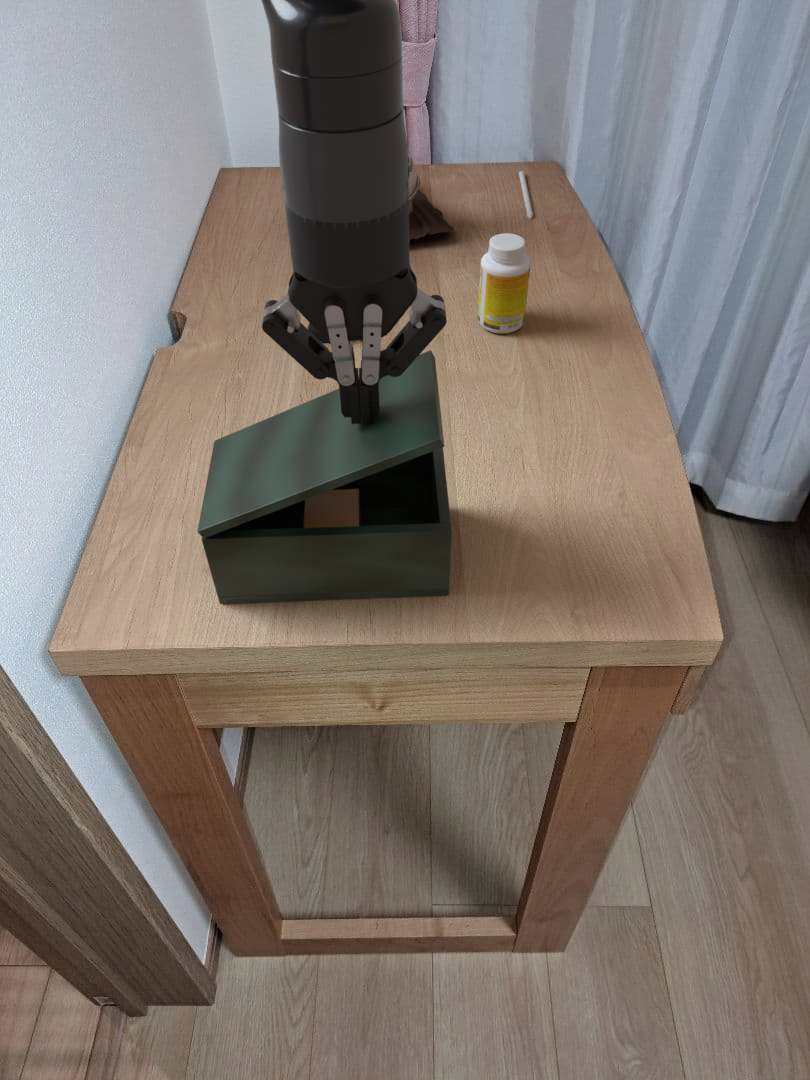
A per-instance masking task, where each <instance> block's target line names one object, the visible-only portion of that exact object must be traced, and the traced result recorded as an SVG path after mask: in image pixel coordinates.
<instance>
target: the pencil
mask: <svg viewBox="0 0 810 1080" xmlns="http://www.w3.org/2000/svg"><path fill="white" fill-rule="evenodd" d="M518 178H519V181H520V186H521V192H522V196H523V201H524V206H525V211H526V217H527V218H528V219H529V220H532V219H534V213H533V209H532V204H531V198H530V193H529V189H528V184H527V180H526V174H525V171H524V170H520V171H519V172H518Z"/></svg>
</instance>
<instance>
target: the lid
mask: <svg viewBox="0 0 810 1080" xmlns="http://www.w3.org/2000/svg"><path fill="white" fill-rule="evenodd" d="M440 401H441V400H440V392H439V382H438V373H437V364H436V357H435V355H434V353H433V350H431V349H430V350H427V351H425V352H421V353H420V355H419V356H418V357H417V358H416V359H415V360H414V361H413V362H412V364H411V365H410V366H409V367H408V368H407V369H406V370H405V371H404V372H403V374H402V375H400V376H398V377H392V376H390V375H387V376H385V377H383V378H381V379H380V381H379V406H380V411H379V413H378V416H372V417H371V424H362V422H361V424H352V423H351V417H346V418H345V417H344V416H343V414H342V412H341V401H340V391H339V388H336V389H334V390H332V391H329V392H327V393H325V394H323V395H320V396H317V397H315V398H314V399H310V400H308V401H306V402H304V403H301V404H298V405H296V406H294V407H291V408H289V409H286V410H284V411H281V412H279V413H277V414H275V415H273V416H270V417H267V418H265V419H263V420H260V421H258V422H255V423H253V424H250V425H249V426H246V427H244V428H241V429H238V430H236V431H234V432H232V433H229V434H227V435H225V436H222V437H220V438H218V439H215V440H213V441H214V442H213V446H212V451H211V457H210V463H209V468H208V473H207V474H208V475H207V478H206V484H205V489H204V494H203V498H202V499H203V500H202V505H201V510H200V514H199V515H200V516H199V521H198V526H197V530H196V531H197V533H198V535H200V537H201V538H202V537H203V538H206V537H208V536H211V535H214V534H216V533H219V532H222V531H224V530H227V529H230V528H232V527H235V526H237V525H240V524H243V523H245V522H248V521H251V520H253V519H256V518H258V517H261V516H264V515H266V514H269V513H272V512H274V511H277V510H280V509H282V508H285V507H287V506H290V505H293V504H295V503H298V502H301V501H303V500H306V499H308V498H311V497H314V496H316V495H319V494H322V493H324V492H327V491H330V490H332V489H335V488H337V487H340V486H343V485H345V484H348V483H351V482H353V481H356V480H358V479H361V478H364V477H366V476H369V475H372V474H374V473H377V472H379V471H382V470H385V469H387V468H390V467H393V466H395V465H398V464H401V463H403V462H406V461H408V460H411V459H414V458H416V457H419V456H422V455H424V454H427V453H429V452H432V451H435V450H437V449H440V448H443V449H444V447H445V437H444V428H443V420H442V410H441V402H440Z"/></svg>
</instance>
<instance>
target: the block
mask: <svg viewBox="0 0 810 1080" xmlns="http://www.w3.org/2000/svg"><path fill="white" fill-rule="evenodd" d="M347 526H362V523H361V509H360V495H359V489H342V490H330V491H327V492H324V493H322V494H319V495H316V496H314V497H311V498H308V499H306V500H305V506H304V522H303V528H318V527H347Z"/></svg>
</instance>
